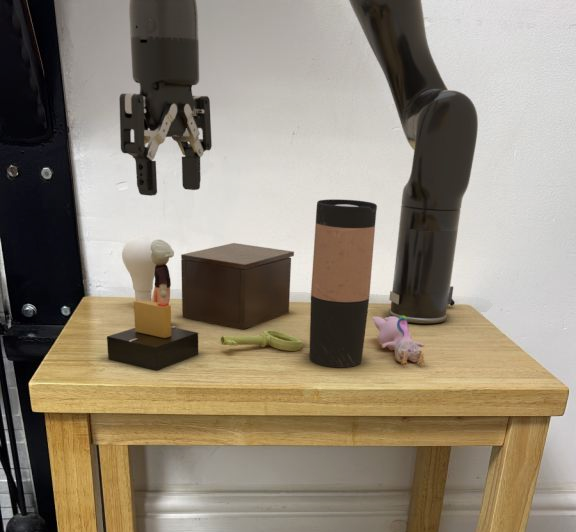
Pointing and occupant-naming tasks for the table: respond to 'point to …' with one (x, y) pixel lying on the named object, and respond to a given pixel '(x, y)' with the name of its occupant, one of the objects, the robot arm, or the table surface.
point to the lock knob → (152, 318)
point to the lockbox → (235, 293)
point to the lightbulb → (140, 266)
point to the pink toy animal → (398, 339)
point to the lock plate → (152, 348)
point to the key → (265, 340)
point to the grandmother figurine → (161, 270)
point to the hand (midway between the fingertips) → (170, 192)
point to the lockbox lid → (237, 255)
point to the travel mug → (341, 281)
